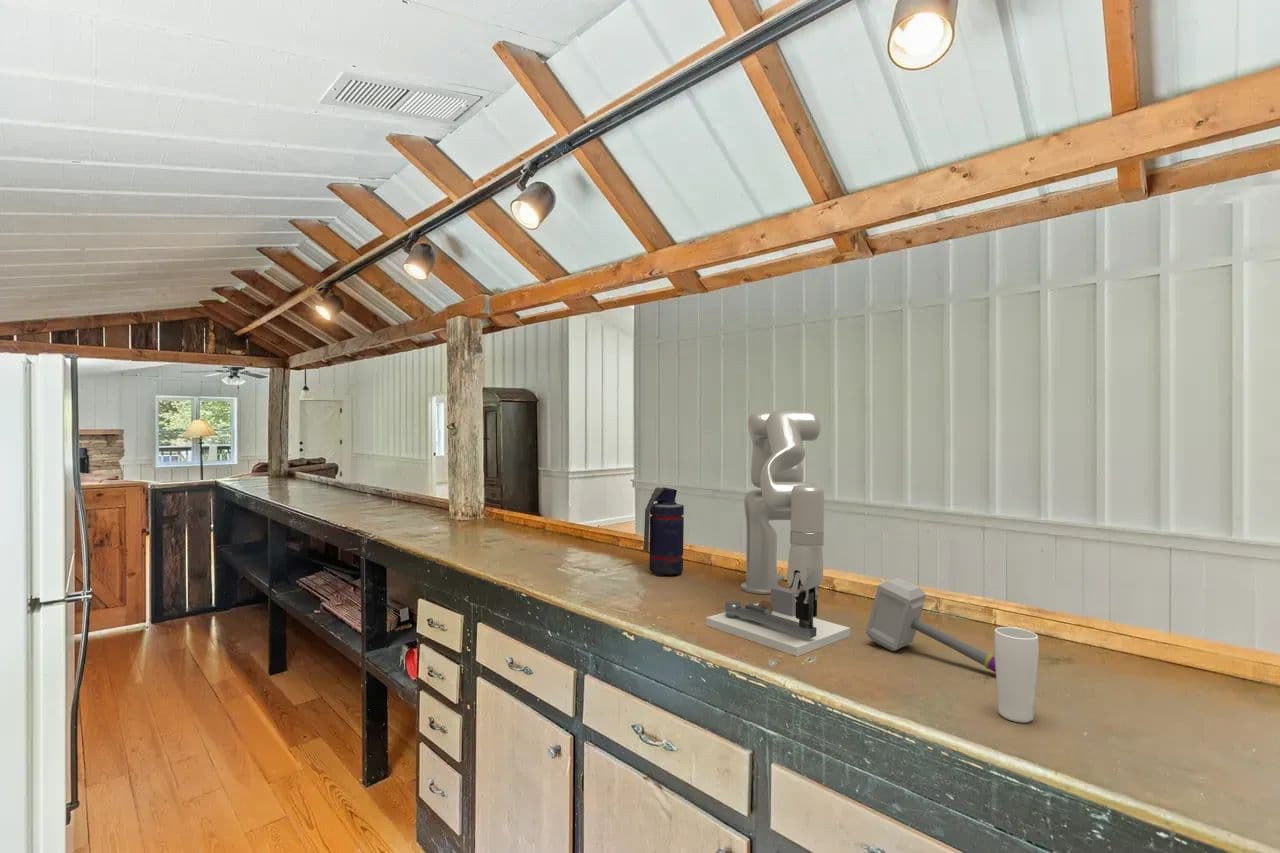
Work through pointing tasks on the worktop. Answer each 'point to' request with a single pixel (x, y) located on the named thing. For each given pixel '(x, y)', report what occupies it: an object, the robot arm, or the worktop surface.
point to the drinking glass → (1016, 672)
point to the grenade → (664, 532)
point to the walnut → (766, 606)
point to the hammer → (910, 621)
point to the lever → (773, 617)
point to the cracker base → (777, 637)
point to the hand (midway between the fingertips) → (806, 616)
